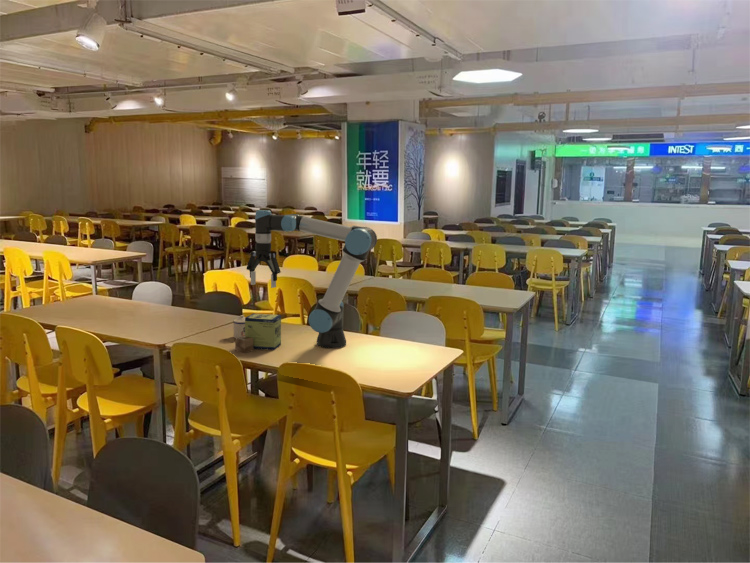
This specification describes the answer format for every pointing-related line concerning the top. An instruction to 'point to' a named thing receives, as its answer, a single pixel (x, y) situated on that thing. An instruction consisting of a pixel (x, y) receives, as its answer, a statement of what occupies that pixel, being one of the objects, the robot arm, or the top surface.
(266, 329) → the protein box
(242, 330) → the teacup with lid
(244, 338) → the numbered walnut block
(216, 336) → the top surface
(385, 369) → the top surface
